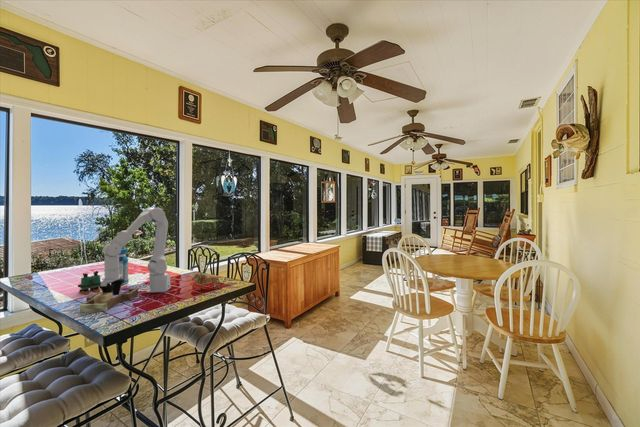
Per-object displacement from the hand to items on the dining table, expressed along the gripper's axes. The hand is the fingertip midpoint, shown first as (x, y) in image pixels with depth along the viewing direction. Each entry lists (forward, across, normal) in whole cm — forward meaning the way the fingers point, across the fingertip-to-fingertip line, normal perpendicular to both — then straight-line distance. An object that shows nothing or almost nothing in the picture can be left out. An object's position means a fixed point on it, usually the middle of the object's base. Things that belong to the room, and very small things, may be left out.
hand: (112, 297), depth 139 cm
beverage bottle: (+2, -30, -11) cm, 32 cm away
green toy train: (+2, -16, -19) cm, 25 cm away
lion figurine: (+2, -14, +40) cm, 43 cm away
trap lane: (+1, +1, 0) cm, 2 cm away
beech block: (+1, +7, 0) cm, 7 cm away
